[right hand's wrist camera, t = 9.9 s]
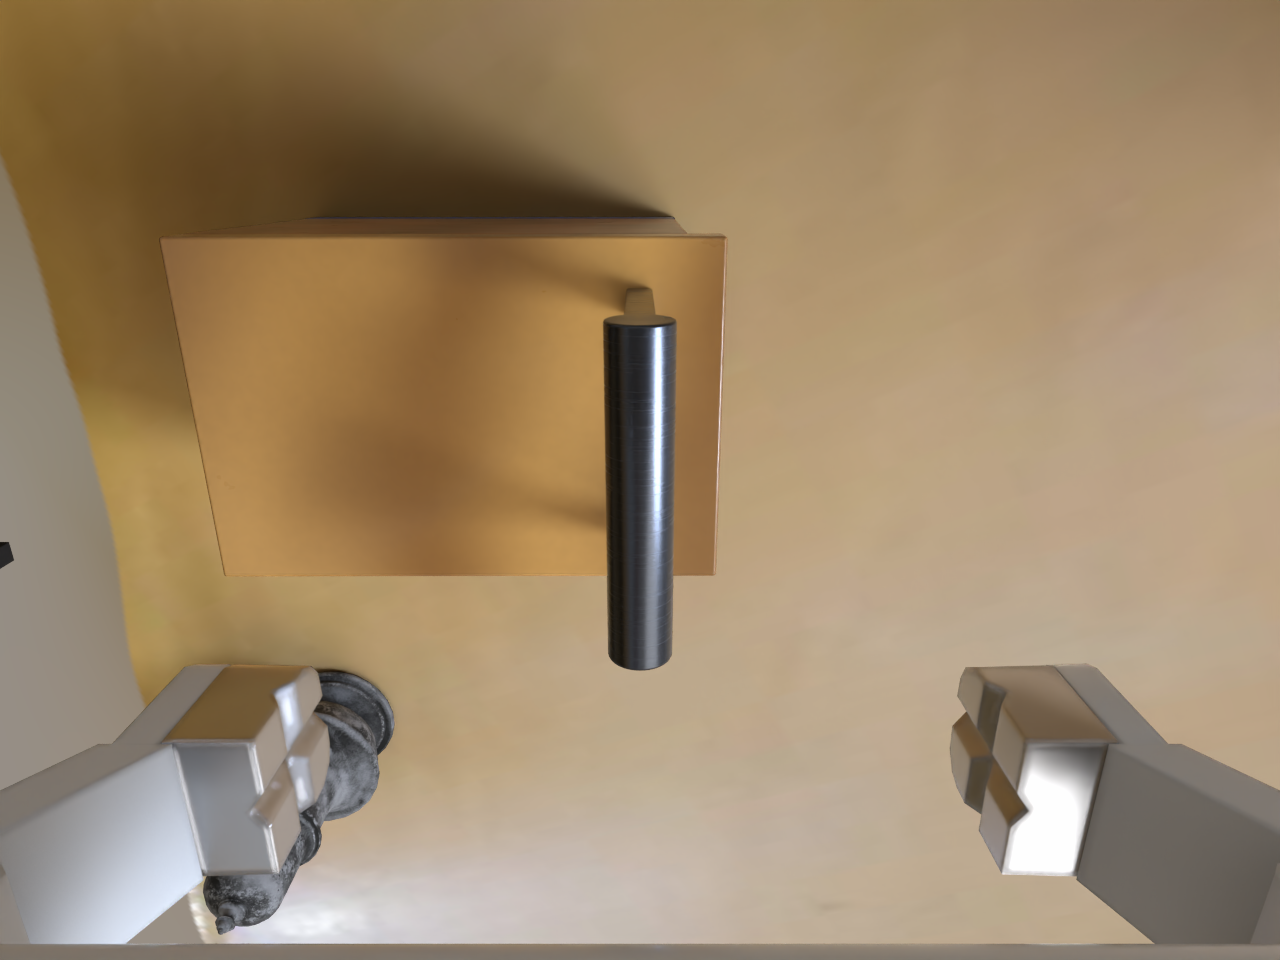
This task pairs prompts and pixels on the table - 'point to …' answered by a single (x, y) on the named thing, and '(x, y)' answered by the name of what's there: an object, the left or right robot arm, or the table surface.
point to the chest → (463, 226)
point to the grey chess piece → (350, 783)
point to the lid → (461, 407)
